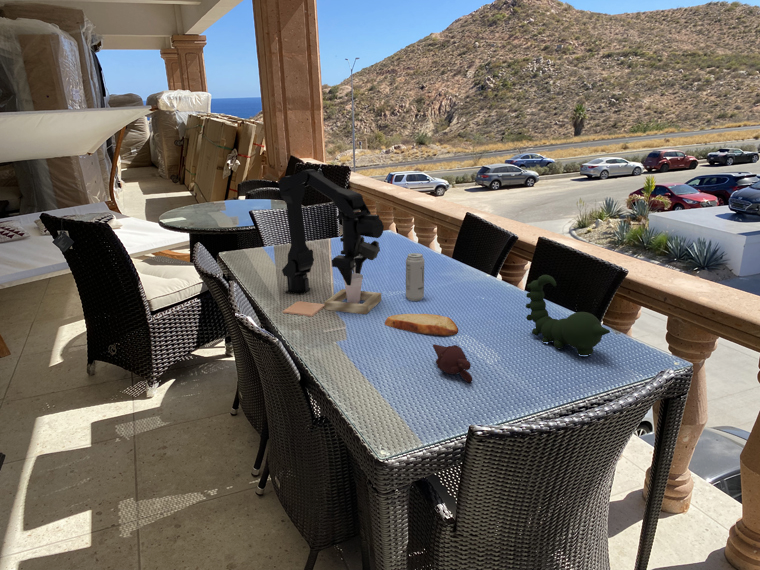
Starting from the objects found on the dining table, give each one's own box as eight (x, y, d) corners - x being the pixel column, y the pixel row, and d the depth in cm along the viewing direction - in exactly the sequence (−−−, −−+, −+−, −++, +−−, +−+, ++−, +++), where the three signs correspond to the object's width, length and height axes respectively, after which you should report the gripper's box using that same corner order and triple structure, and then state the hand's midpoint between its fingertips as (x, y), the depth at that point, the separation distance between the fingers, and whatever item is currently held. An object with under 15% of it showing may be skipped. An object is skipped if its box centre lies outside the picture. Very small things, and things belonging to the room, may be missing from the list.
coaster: (282, 313, 164) (282, 311, 164) (298, 302, 173) (298, 301, 173) (311, 316, 161) (311, 314, 161) (325, 306, 170) (325, 304, 170)
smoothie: (361, 308, 167) (360, 265, 163) (341, 307, 168) (340, 264, 164) (365, 301, 173) (364, 260, 169) (346, 300, 174) (345, 259, 170)
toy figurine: (518, 341, 145) (595, 369, 124) (518, 274, 141) (598, 291, 120) (542, 334, 150) (621, 360, 129) (543, 269, 146) (624, 284, 125)
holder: (324, 309, 167) (324, 302, 166) (342, 295, 179) (342, 288, 178) (366, 314, 162) (365, 306, 161) (381, 300, 175) (381, 293, 174)
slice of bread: (381, 322, 157) (381, 310, 156) (435, 314, 163) (436, 302, 162) (404, 345, 141) (404, 332, 140) (464, 335, 147) (464, 323, 146)
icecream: (418, 339, 127) (454, 369, 115) (444, 327, 130) (481, 355, 118) (423, 362, 131) (458, 393, 119) (447, 350, 133) (484, 379, 121)
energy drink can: (422, 302, 172) (423, 257, 168) (404, 301, 174) (404, 256, 169) (424, 296, 178) (425, 253, 174) (407, 295, 179) (407, 252, 175)
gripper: (365, 242, 153) (365, 293, 157) (386, 229, 169) (386, 276, 174) (329, 239, 156) (331, 290, 161) (354, 227, 173) (355, 273, 178)
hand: (353, 282), depth 168 cm, fingers closed on smoothie, 6 cm apart
